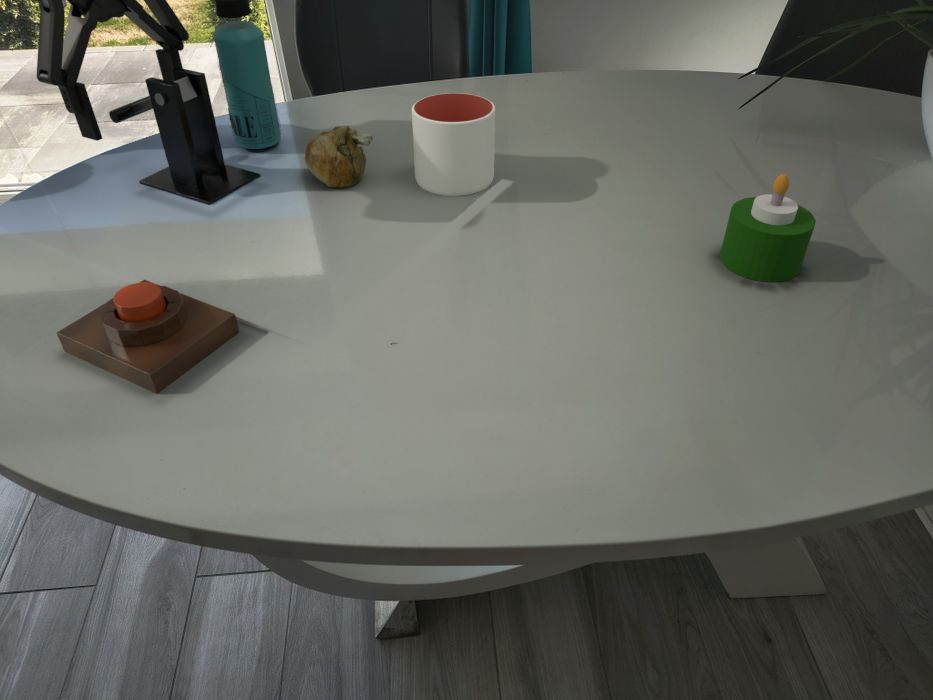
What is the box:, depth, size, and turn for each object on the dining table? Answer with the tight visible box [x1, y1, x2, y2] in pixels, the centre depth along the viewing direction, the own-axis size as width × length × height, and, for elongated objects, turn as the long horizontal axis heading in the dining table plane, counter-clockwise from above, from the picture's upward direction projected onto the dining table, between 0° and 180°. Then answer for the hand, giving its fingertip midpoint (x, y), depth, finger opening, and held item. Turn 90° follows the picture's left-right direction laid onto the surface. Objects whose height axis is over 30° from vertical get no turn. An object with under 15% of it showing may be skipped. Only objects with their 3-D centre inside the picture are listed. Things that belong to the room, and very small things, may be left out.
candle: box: [719, 173, 816, 283], centre depth 76 cm, size 8×8×10 cm
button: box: [112, 281, 166, 322], centre depth 65 cm, size 4×4×2 cm
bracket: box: [138, 68, 262, 206], centre depth 89 cm, size 12×9×14 cm
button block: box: [56, 279, 240, 395], centre depth 67 cm, size 12×10×4 cm
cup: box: [411, 92, 496, 197], centre depth 90 cm, size 10×10×10 cm
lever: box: [108, 76, 197, 124], centre depth 89 cm, size 12×6×2 cm, turn 61°
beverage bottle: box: [212, 0, 283, 150], centre depth 96 cm, size 6×7×20 cm
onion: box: [304, 125, 374, 189], centre depth 91 cm, size 8×8×8 cm
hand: (137, 119), depth 93 cm, fingers open, 13 cm apart
